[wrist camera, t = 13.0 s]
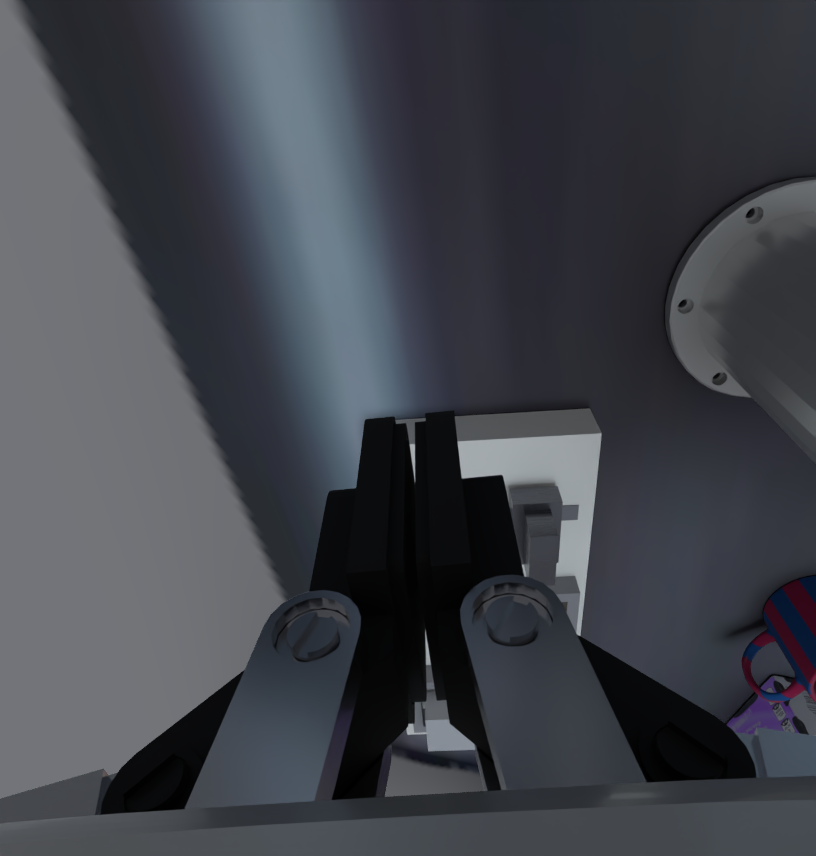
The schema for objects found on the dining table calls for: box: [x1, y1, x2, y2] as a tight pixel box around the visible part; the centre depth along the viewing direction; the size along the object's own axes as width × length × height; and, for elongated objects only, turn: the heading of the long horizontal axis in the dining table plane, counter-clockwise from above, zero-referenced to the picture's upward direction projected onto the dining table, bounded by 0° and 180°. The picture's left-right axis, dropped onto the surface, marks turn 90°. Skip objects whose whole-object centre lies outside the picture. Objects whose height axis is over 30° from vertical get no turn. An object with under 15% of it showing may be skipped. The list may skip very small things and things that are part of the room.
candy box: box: [726, 676, 816, 736], centre depth 50 cm, size 14×6×16 cm, turn 165°
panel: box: [395, 408, 602, 735], centre depth 46 cm, size 14×30×5 cm, turn 4°
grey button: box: [425, 691, 475, 751], centre depth 48 cm, size 4×4×2 cm
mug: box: [742, 576, 816, 703], centre depth 46 cm, size 7×10×7 cm
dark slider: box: [509, 486, 563, 586], centre depth 38 cm, size 3×5×4 cm, turn 4°
